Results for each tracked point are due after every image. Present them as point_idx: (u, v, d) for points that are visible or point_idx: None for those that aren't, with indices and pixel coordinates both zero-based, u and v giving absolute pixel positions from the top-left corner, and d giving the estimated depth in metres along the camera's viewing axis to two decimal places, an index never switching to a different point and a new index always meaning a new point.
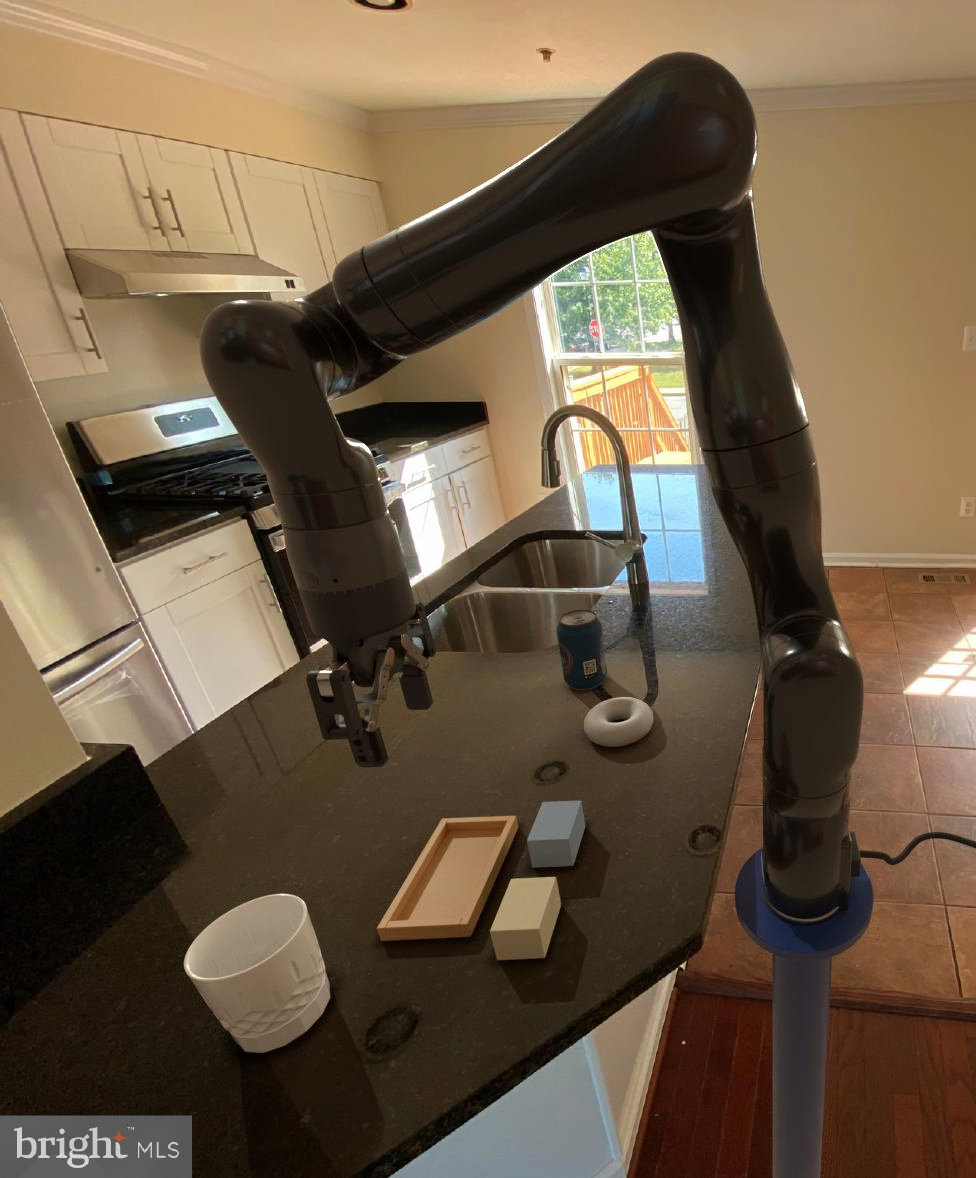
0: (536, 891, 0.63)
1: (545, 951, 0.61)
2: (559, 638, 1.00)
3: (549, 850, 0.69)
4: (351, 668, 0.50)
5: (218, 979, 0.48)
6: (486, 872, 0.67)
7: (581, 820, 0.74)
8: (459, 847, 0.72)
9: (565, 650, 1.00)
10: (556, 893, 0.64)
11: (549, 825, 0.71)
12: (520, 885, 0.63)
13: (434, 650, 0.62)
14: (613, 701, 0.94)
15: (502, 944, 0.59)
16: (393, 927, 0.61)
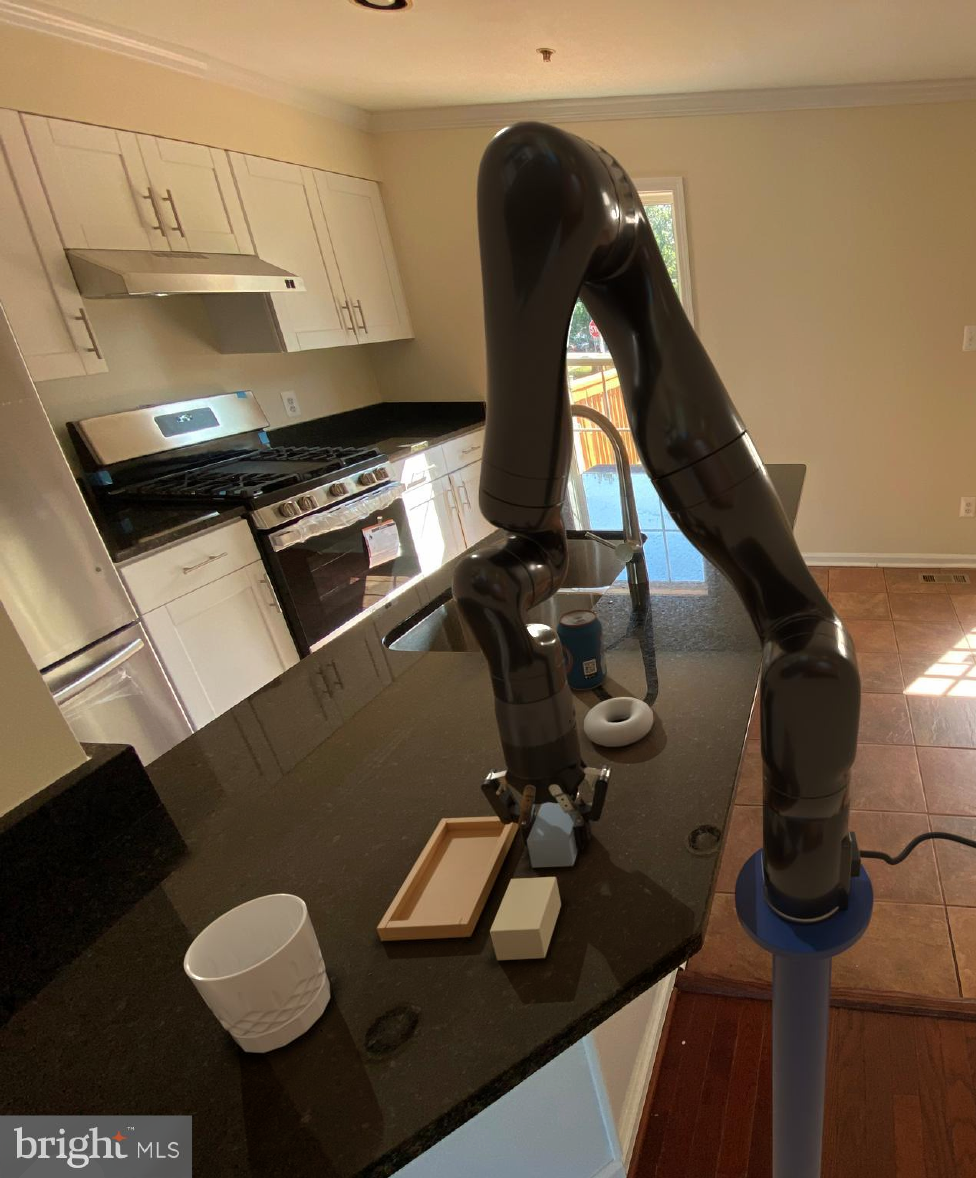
0: (536, 891, 0.63)
1: (545, 951, 0.61)
2: None
3: (549, 850, 0.69)
4: (507, 780, 0.68)
5: (218, 979, 0.48)
6: (486, 872, 0.67)
7: None
8: (459, 847, 0.72)
9: (565, 650, 1.00)
10: (556, 893, 0.64)
11: (549, 825, 0.71)
12: (520, 885, 0.63)
13: (594, 818, 0.70)
14: (613, 701, 0.94)
15: (502, 944, 0.59)
16: (393, 927, 0.61)
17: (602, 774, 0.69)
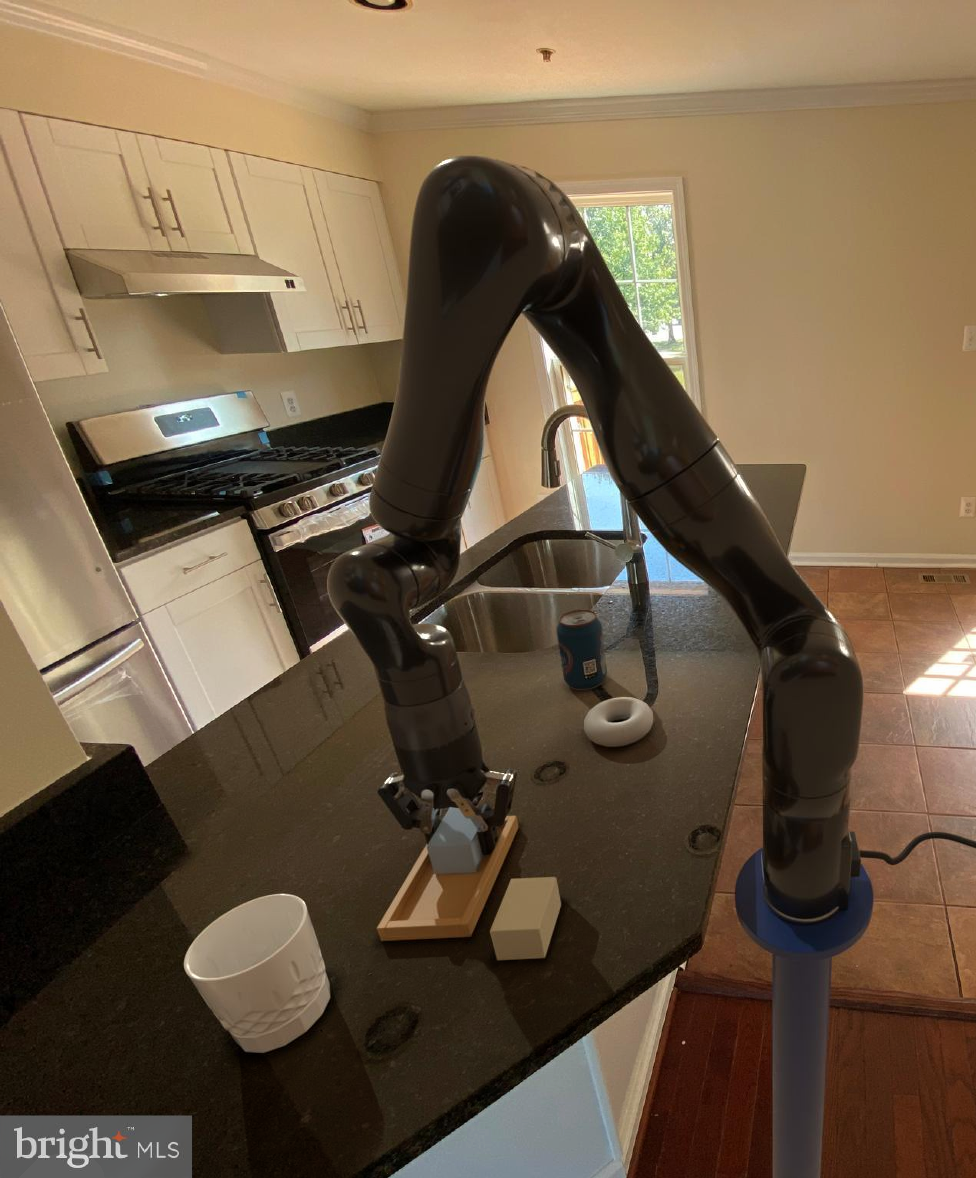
0: (536, 891, 0.63)
1: (545, 951, 0.61)
2: (559, 638, 1.00)
3: (450, 856, 0.68)
4: None
5: (218, 979, 0.48)
6: (486, 872, 0.67)
7: None
8: None
9: (565, 650, 1.00)
10: (556, 893, 0.64)
11: (453, 830, 0.69)
12: (520, 885, 0.63)
13: (497, 823, 0.68)
14: (613, 701, 0.94)
15: (502, 944, 0.59)
16: (393, 927, 0.61)
17: (504, 778, 0.67)
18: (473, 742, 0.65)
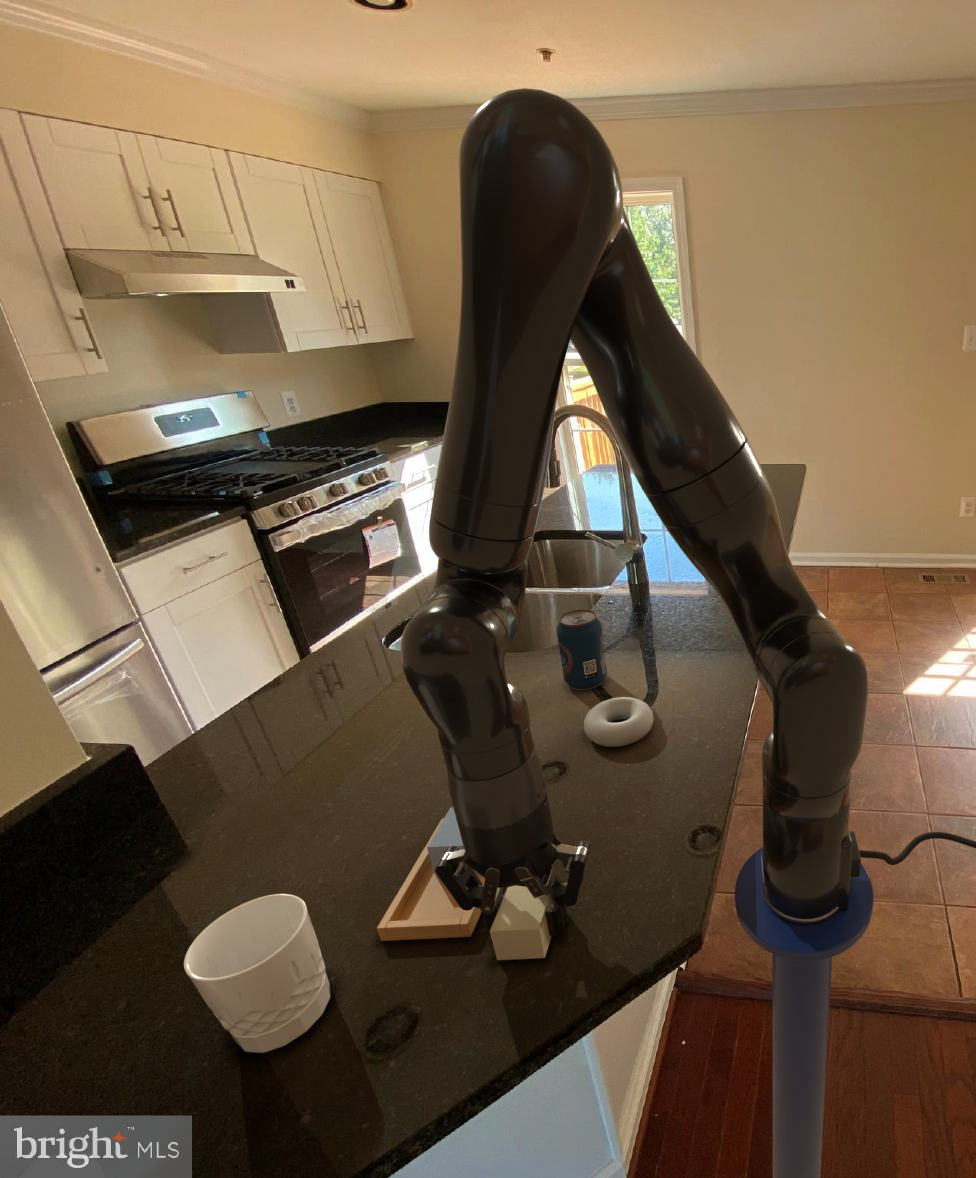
0: None
1: (545, 951, 0.61)
2: (559, 638, 1.00)
3: None
4: None
5: (218, 979, 0.48)
6: None
7: None
8: None
9: (565, 650, 1.00)
10: None
11: (453, 830, 0.69)
12: None
13: (569, 902, 0.60)
14: (613, 701, 0.94)
15: (502, 944, 0.59)
16: (393, 927, 0.61)
17: (578, 853, 0.59)
18: (545, 814, 0.57)
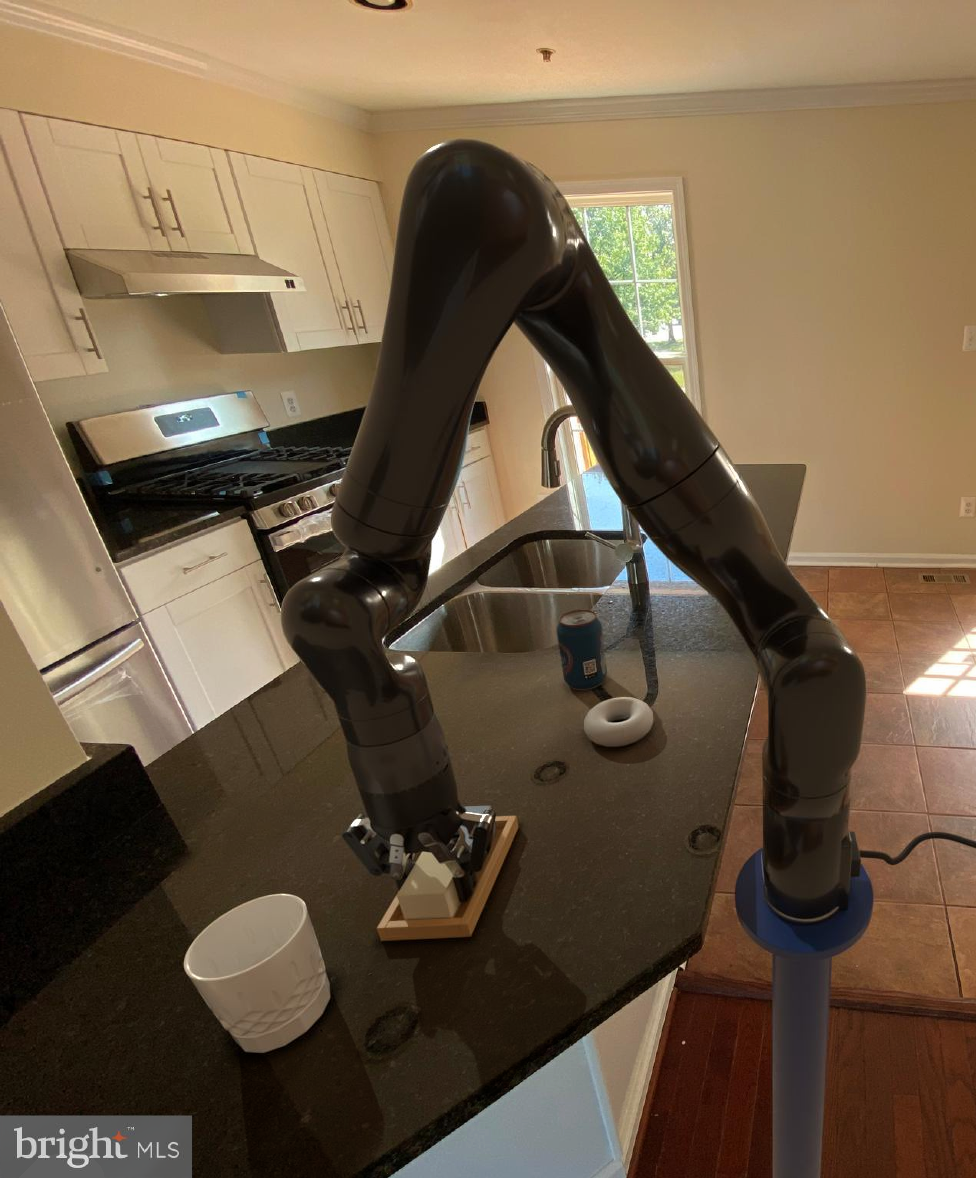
0: None
1: (453, 916, 0.63)
2: (559, 638, 1.00)
3: None
4: None
5: (218, 979, 0.48)
6: (486, 872, 0.67)
7: None
8: None
9: (565, 650, 1.00)
10: None
11: None
12: (432, 854, 0.66)
13: (475, 868, 0.62)
14: (613, 701, 0.94)
15: (410, 908, 0.62)
16: (393, 927, 0.61)
17: (482, 820, 0.61)
18: (447, 782, 0.59)
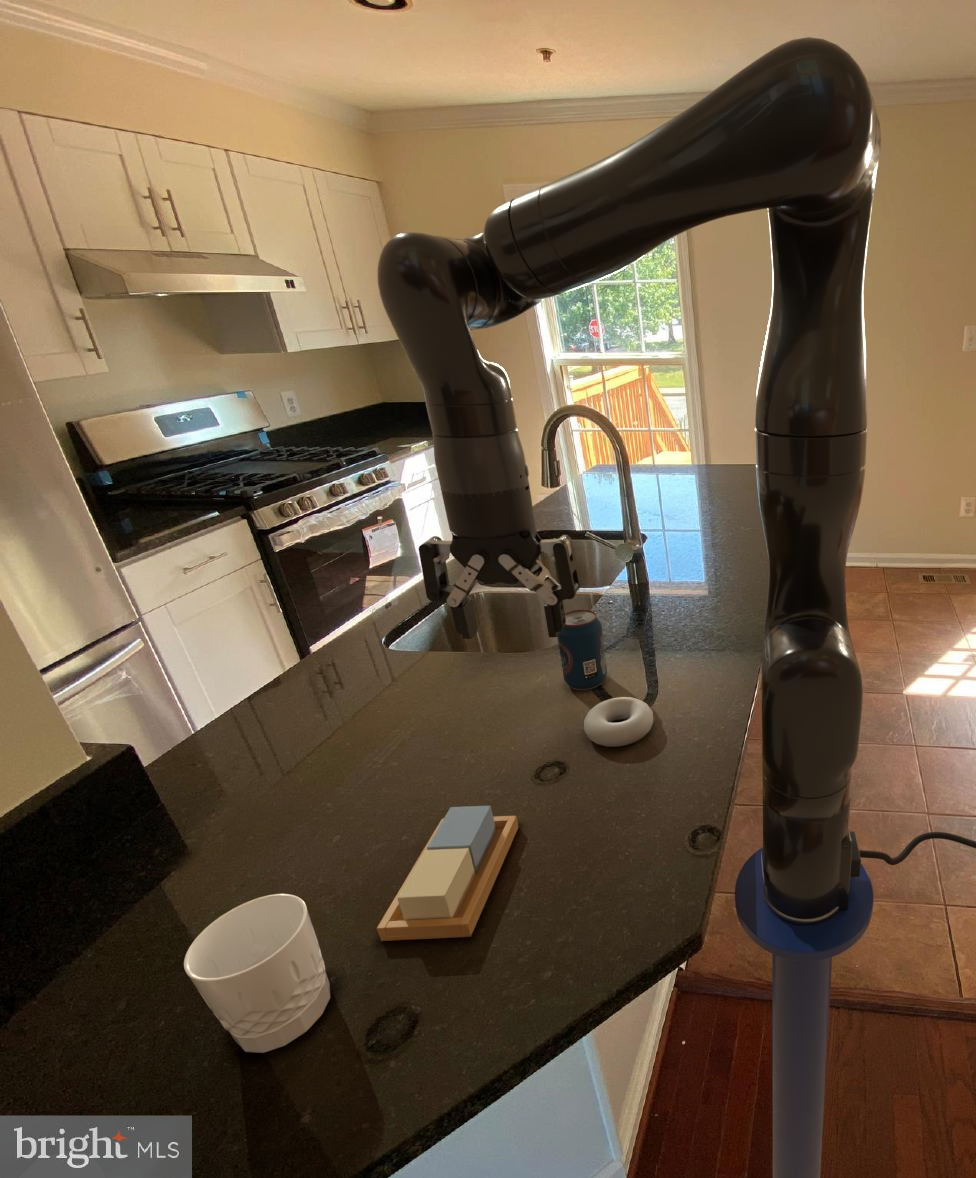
0: (447, 861, 0.65)
1: None
2: (559, 638, 1.00)
3: None
4: None
5: (218, 979, 0.48)
6: (486, 872, 0.67)
7: (490, 826, 0.72)
8: None
9: (565, 650, 1.00)
10: (469, 864, 0.67)
11: (453, 830, 0.69)
12: (433, 856, 0.66)
13: (568, 594, 0.62)
14: (613, 701, 0.94)
15: (410, 910, 0.62)
16: (393, 927, 0.61)
17: (557, 540, 0.61)
18: (528, 503, 0.60)
